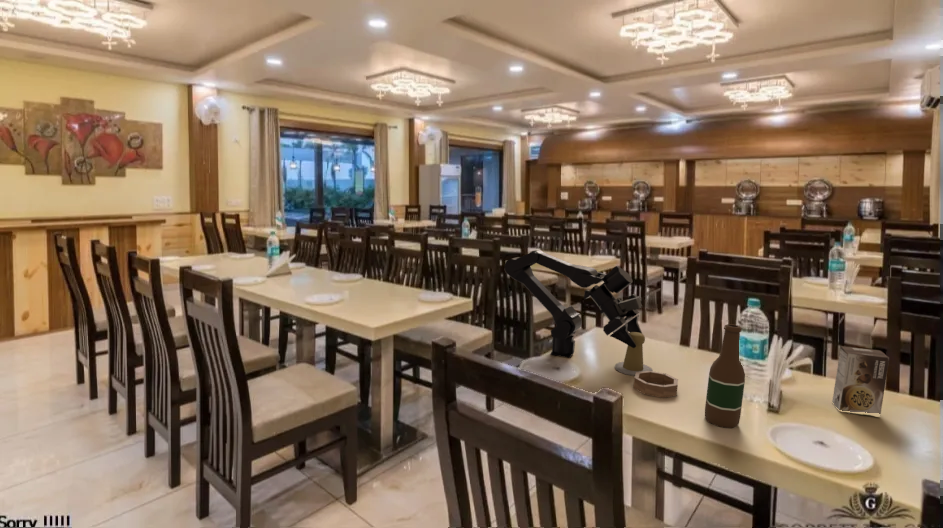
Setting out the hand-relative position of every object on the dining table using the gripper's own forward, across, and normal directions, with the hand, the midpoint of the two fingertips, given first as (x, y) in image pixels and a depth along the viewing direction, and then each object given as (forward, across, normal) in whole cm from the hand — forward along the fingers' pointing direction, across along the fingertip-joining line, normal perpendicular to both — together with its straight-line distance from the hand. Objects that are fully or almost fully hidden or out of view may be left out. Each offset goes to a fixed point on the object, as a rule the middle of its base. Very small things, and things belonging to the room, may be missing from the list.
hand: (639, 343), depth 158 cm
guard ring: (+12, -12, 0) cm, 17 cm away
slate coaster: (+5, 0, +7) cm, 9 cm away
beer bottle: (+25, -23, -12) cm, 36 cm away
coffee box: (+45, +7, -33) cm, 56 cm away
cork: (+5, 0, +7) cm, 8 cm away
